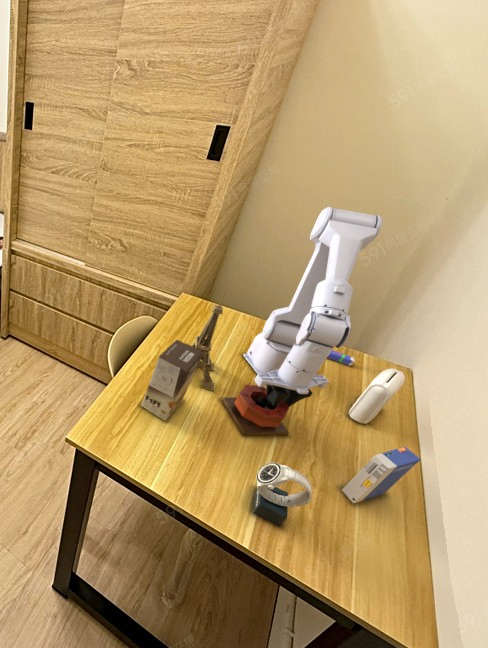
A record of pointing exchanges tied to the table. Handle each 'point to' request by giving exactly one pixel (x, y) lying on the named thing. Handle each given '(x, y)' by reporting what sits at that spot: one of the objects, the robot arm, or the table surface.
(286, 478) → the watch
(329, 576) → the table surface
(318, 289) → the robot arm
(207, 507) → the table surface
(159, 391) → the coffee box
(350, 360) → the eraser
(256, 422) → the ring
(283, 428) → the post
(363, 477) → the walkman
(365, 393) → the white wireless mouse
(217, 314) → the eiffel tower
